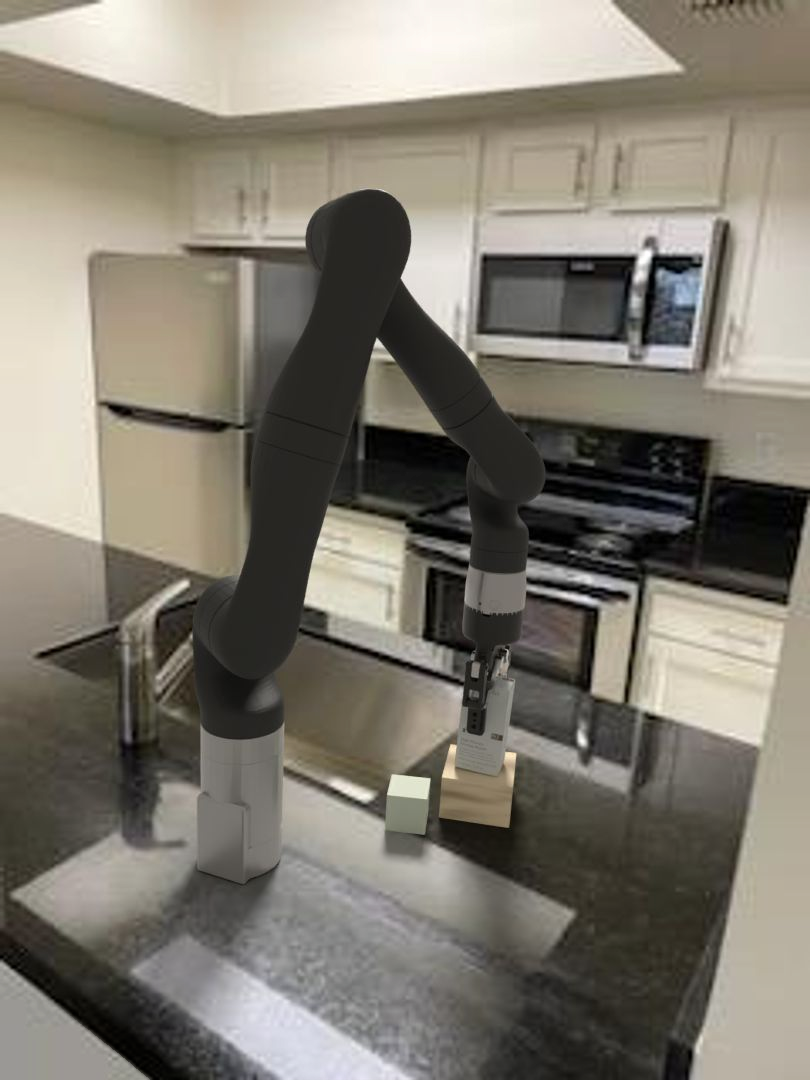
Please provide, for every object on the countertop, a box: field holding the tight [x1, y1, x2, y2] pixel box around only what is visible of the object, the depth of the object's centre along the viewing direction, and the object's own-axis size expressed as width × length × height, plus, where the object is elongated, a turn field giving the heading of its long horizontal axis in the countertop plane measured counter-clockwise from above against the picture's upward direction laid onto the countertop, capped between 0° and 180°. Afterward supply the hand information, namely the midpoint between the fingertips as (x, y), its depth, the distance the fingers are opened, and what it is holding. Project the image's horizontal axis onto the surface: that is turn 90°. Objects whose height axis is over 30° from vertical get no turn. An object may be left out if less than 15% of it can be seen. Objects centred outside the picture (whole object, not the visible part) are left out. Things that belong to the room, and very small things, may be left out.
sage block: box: [384, 773, 431, 836], centre depth 106 cm, size 5×5×5 cm
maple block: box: [438, 743, 517, 828], centre depth 111 cm, size 9×9×6 cm
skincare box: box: [454, 675, 516, 776], centre depth 108 cm, size 6×4×12 cm
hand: (484, 719), depth 109 cm, fingers open, 8 cm apart
